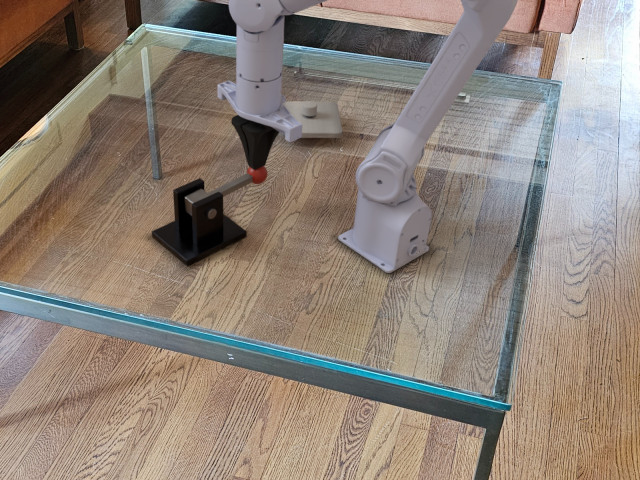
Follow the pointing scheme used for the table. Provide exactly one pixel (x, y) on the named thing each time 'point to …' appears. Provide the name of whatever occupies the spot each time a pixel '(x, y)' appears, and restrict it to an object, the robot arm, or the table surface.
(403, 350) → the table surface
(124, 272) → the table surface
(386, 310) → the table surface
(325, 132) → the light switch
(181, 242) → the bracket
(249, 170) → the lever
